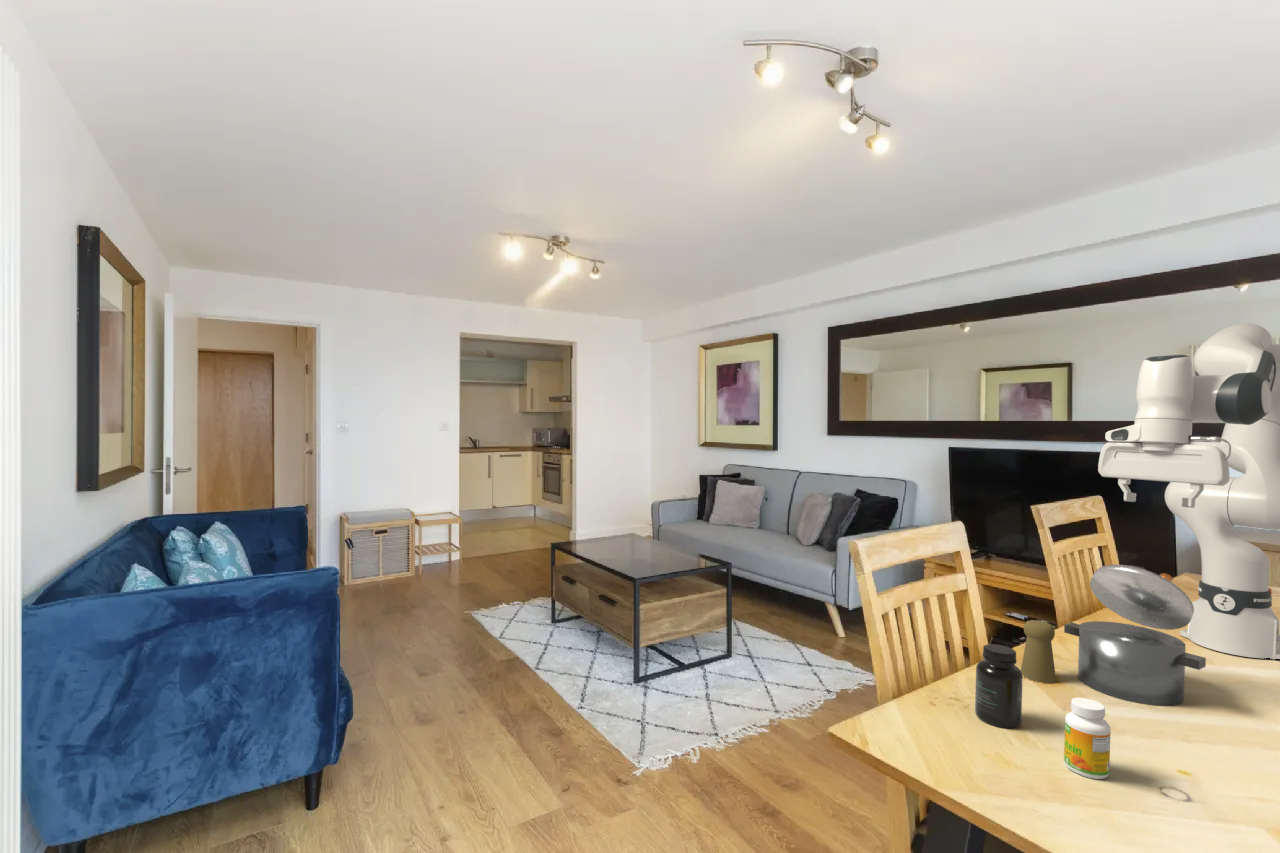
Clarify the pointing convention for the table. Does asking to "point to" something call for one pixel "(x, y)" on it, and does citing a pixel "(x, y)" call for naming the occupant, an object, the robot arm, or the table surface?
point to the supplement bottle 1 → (998, 687)
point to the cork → (1038, 652)
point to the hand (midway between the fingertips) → (1157, 504)
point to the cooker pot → (1133, 662)
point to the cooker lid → (1142, 596)
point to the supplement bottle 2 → (1087, 739)
